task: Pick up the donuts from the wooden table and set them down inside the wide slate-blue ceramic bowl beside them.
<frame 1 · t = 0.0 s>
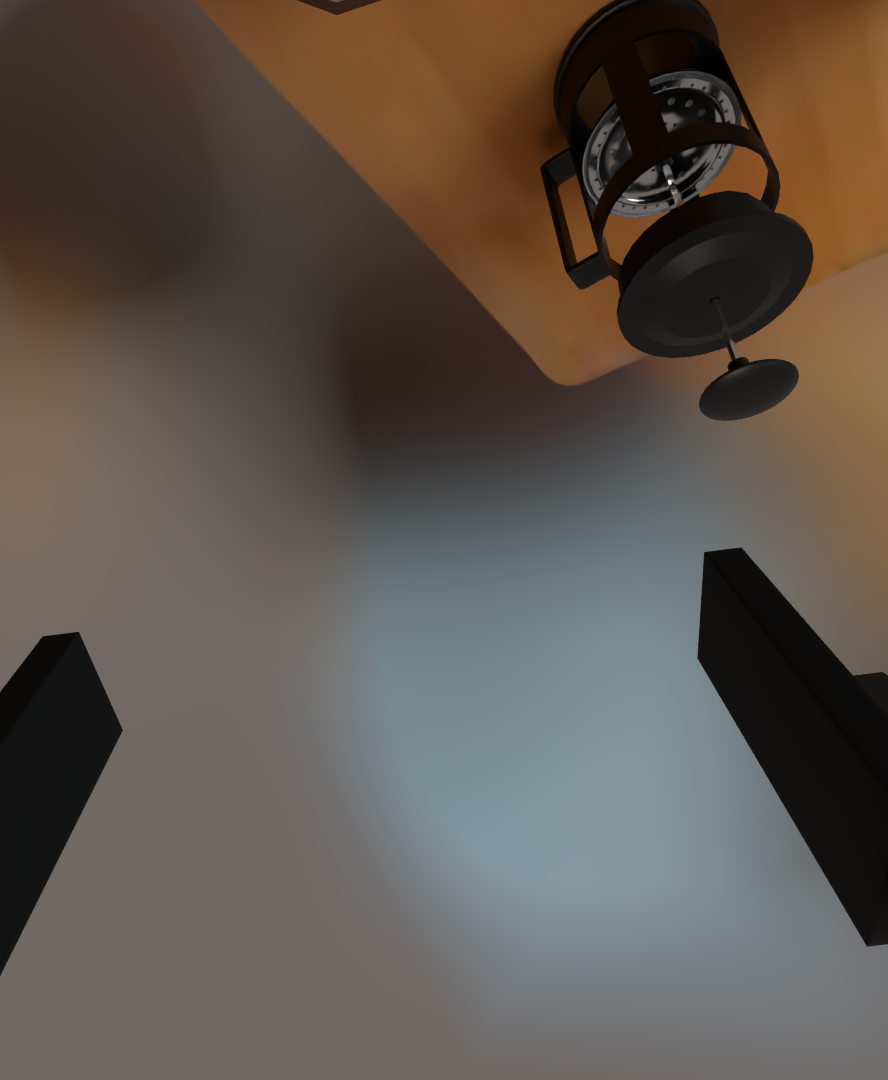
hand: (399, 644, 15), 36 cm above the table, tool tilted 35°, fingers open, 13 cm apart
french press: (624, 82, 41), on the table
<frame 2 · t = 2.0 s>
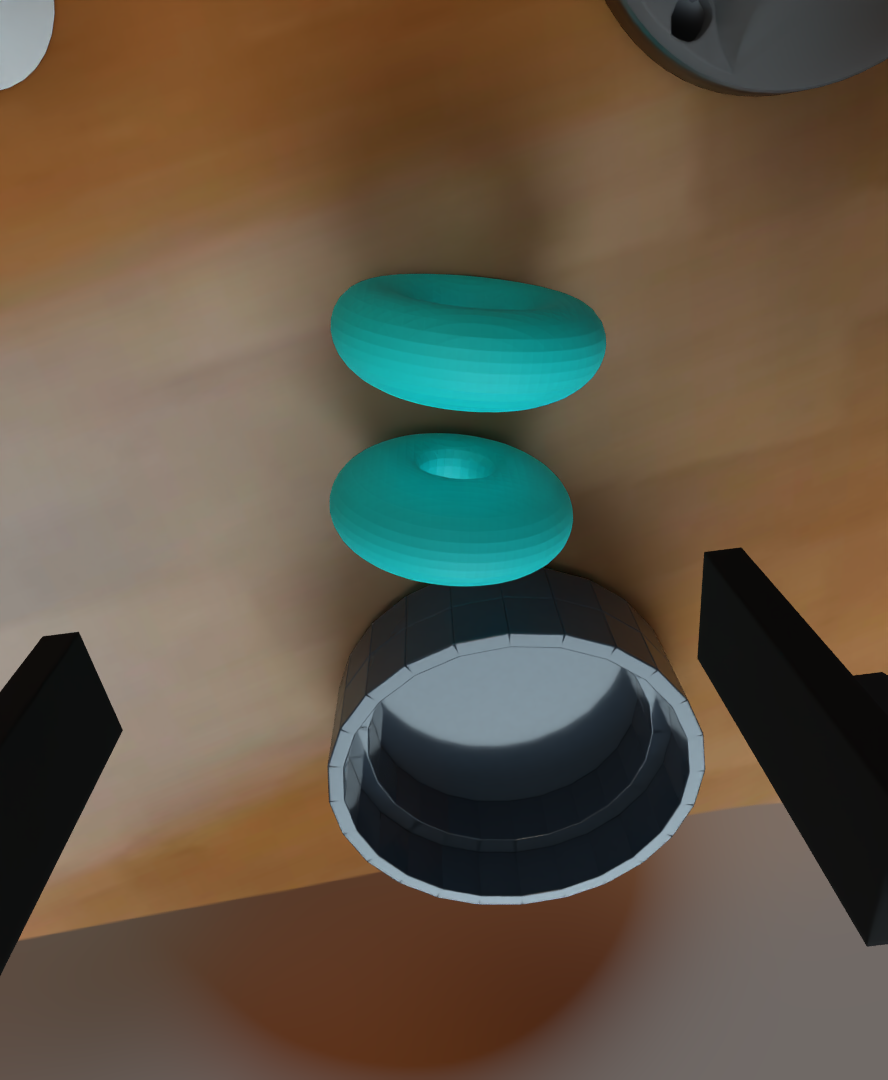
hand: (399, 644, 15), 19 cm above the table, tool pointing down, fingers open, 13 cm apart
donuts: (453, 386, 32), on the table
bowl: (502, 698, 41), on the table
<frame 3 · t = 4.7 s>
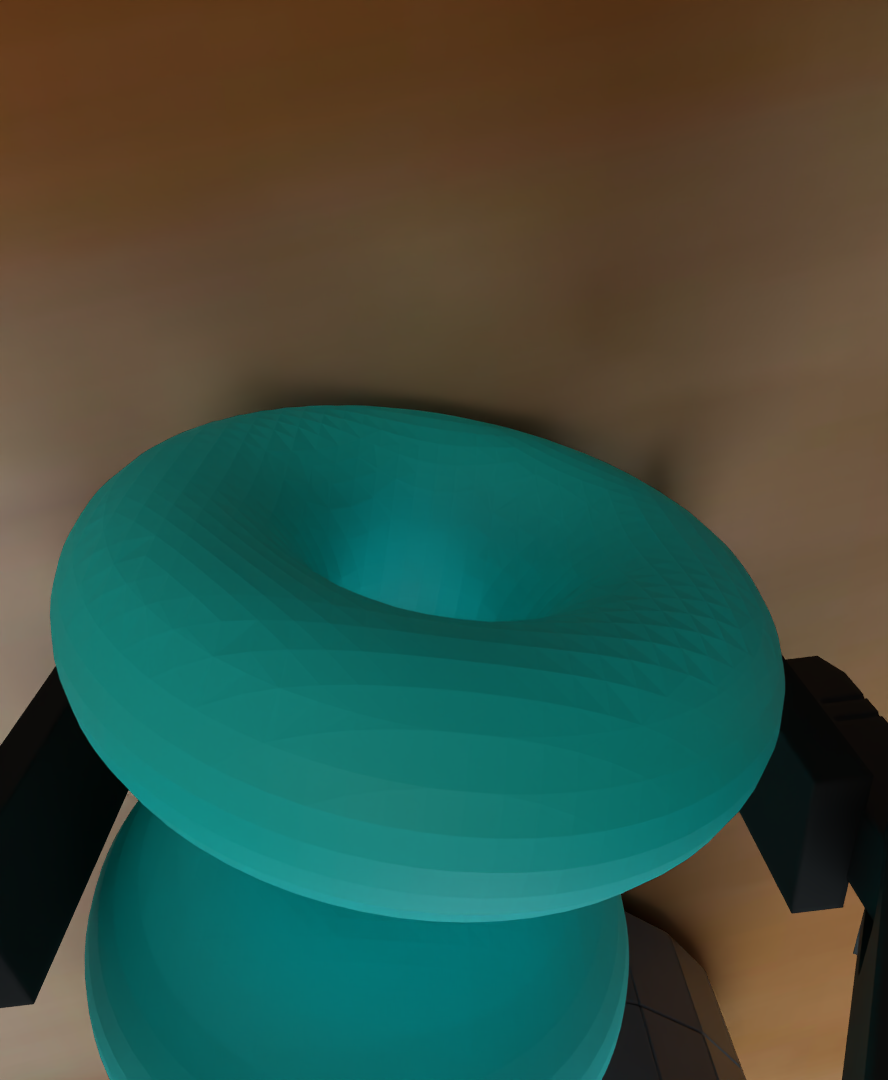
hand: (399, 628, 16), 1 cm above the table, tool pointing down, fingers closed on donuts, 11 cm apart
donuts: (399, 595, 17), on the table, touching gripper
bowl: (449, 1032, 25), on the table
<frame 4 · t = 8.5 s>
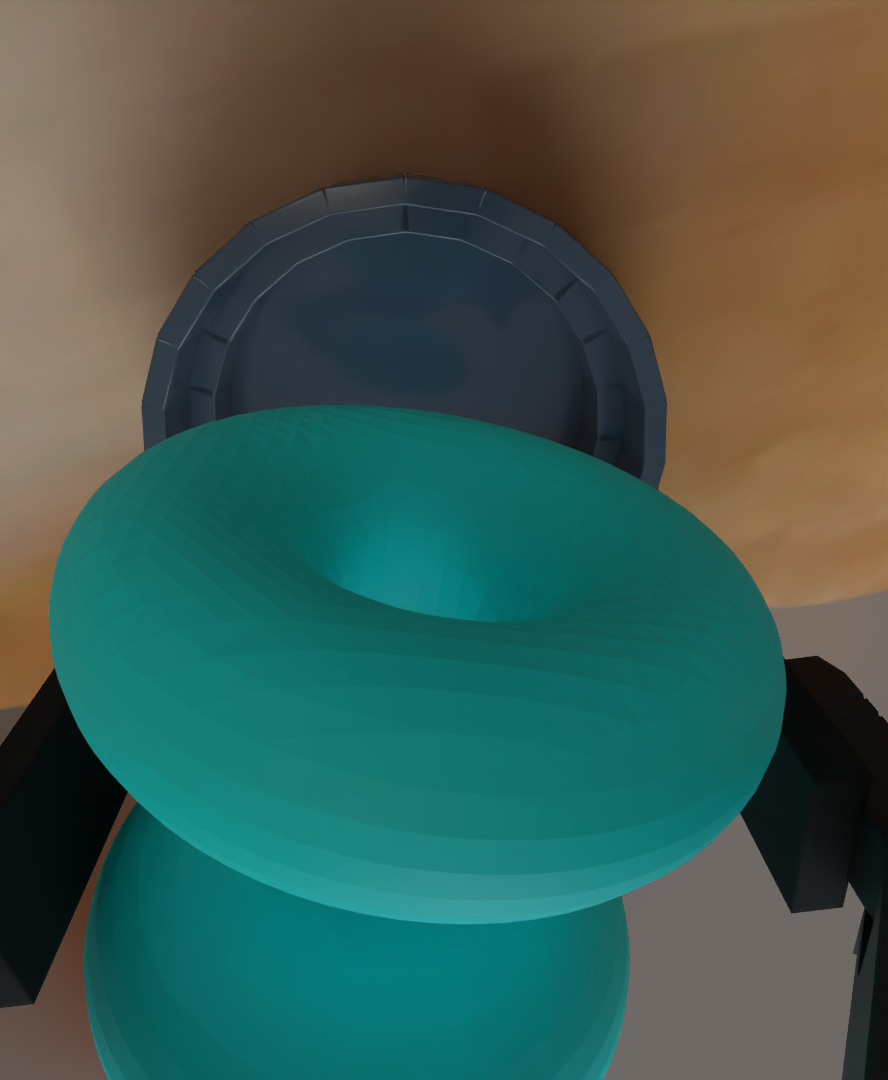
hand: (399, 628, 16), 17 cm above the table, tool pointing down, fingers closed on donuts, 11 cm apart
donuts: (399, 595, 17), point 16 cm above the table, touching gripper
bowl: (409, 411, 31), on the table
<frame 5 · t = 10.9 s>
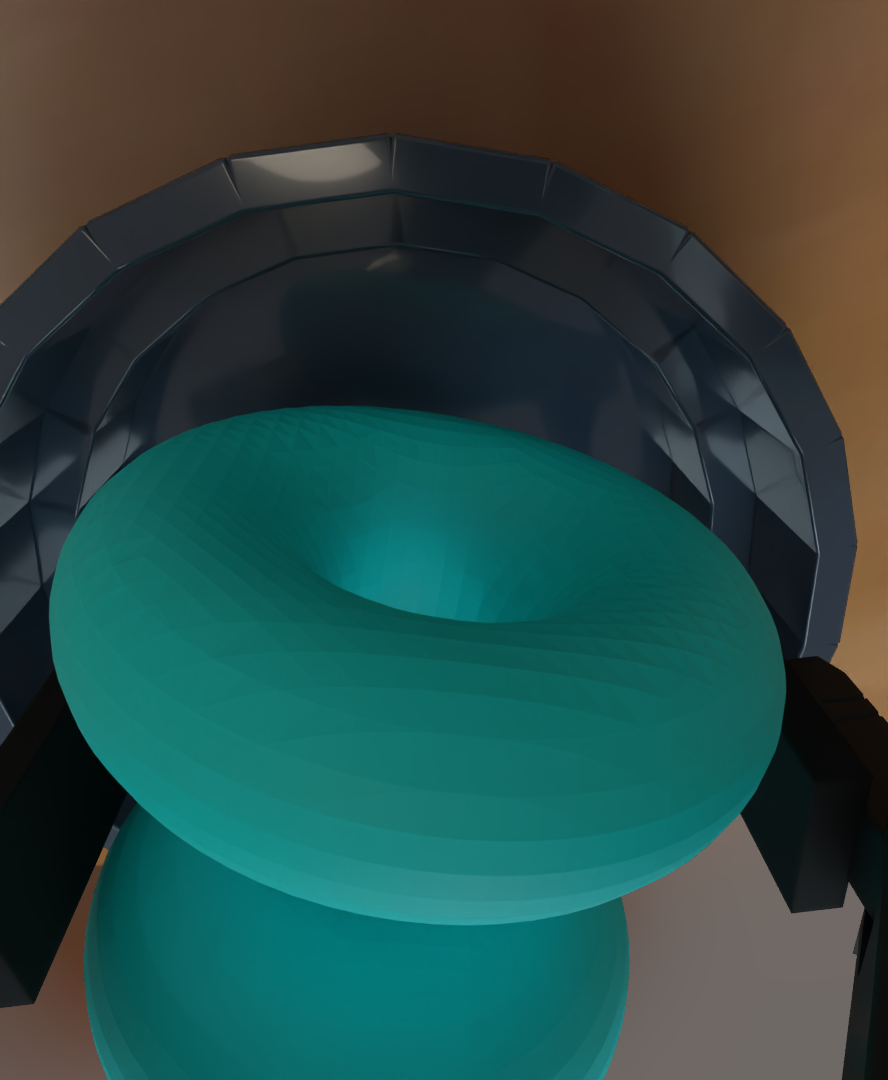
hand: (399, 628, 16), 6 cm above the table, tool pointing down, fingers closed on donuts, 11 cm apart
donuts: (399, 595, 17), point 4 cm above the table, touching gripper
bowl: (403, 514, 20), on the table
when the fingers open (2 cm above the table, at t = 12.7 s): donuts stays where it is, resting on bowl.
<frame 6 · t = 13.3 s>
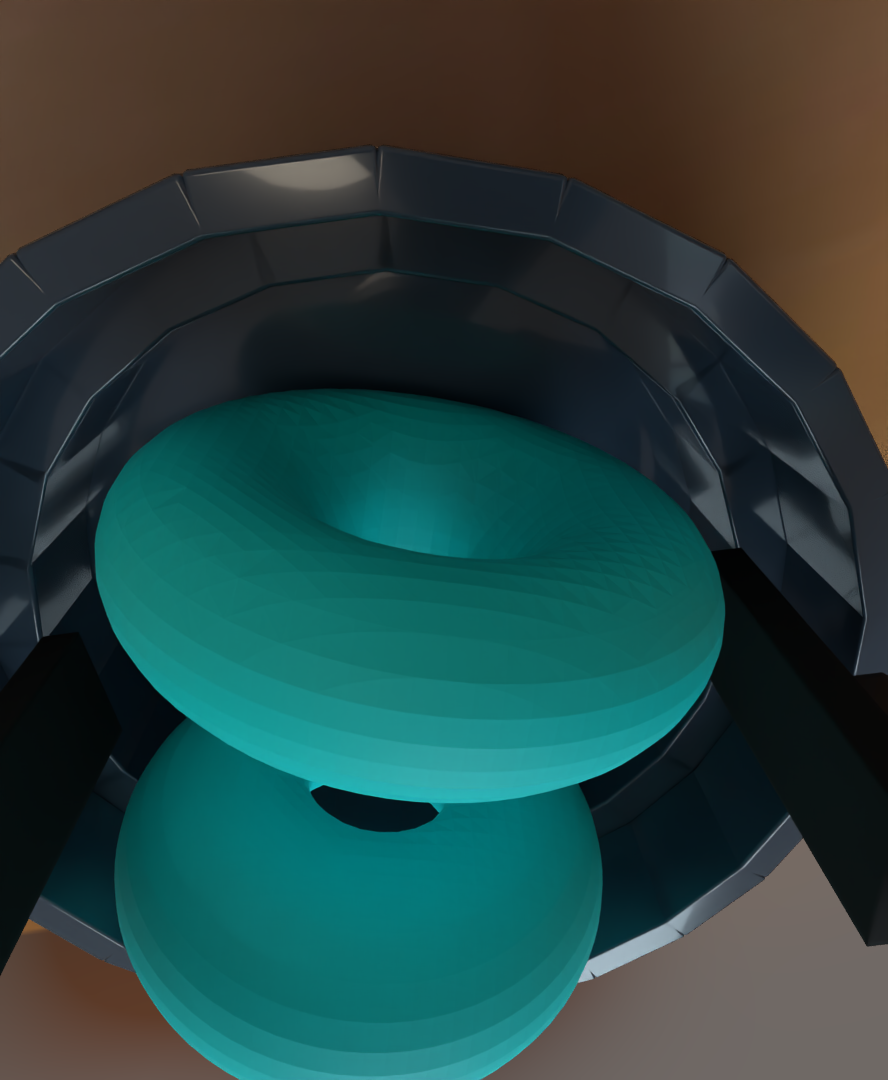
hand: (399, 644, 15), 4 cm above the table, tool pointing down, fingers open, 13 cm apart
donuts: (395, 567, 18), point 1 cm above the table, touching bowl
bowl: (396, 556, 19), on the table
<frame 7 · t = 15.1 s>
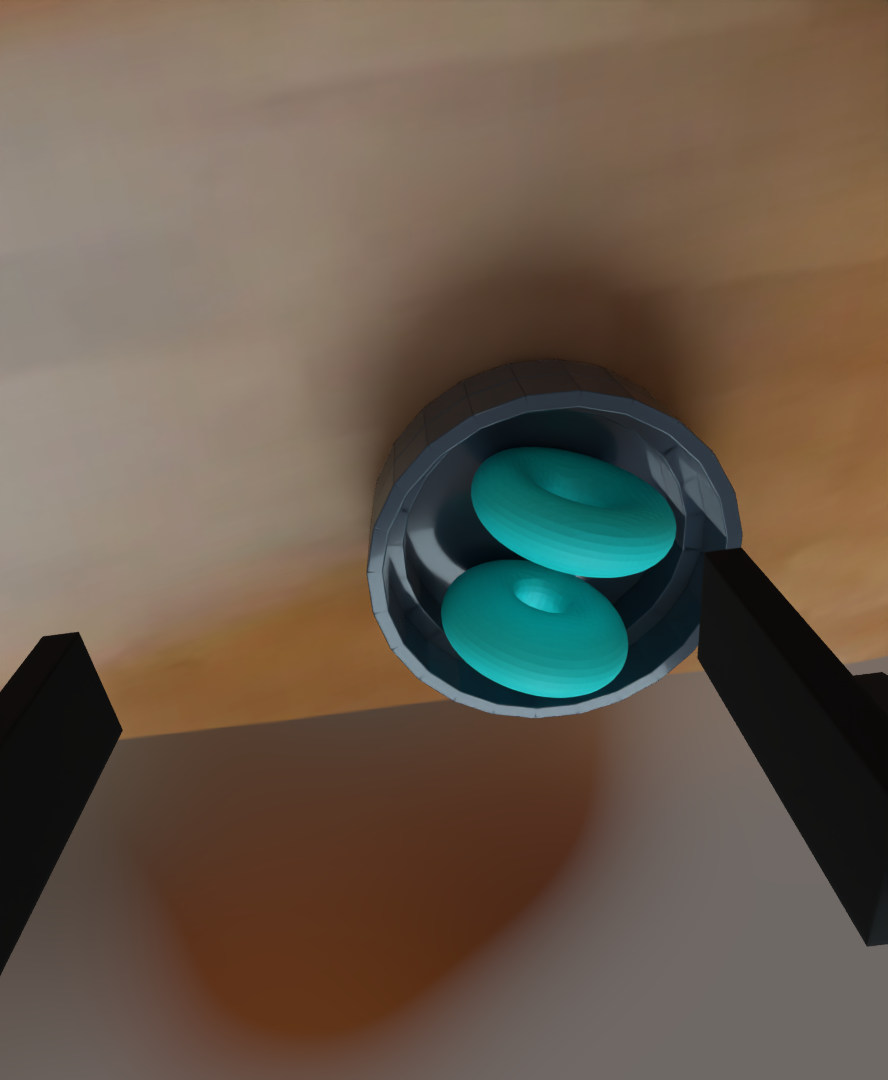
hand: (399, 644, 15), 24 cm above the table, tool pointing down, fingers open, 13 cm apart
donuts: (535, 522, 40), point 1 cm above the table, touching bowl
bowl: (533, 517, 41), on the table
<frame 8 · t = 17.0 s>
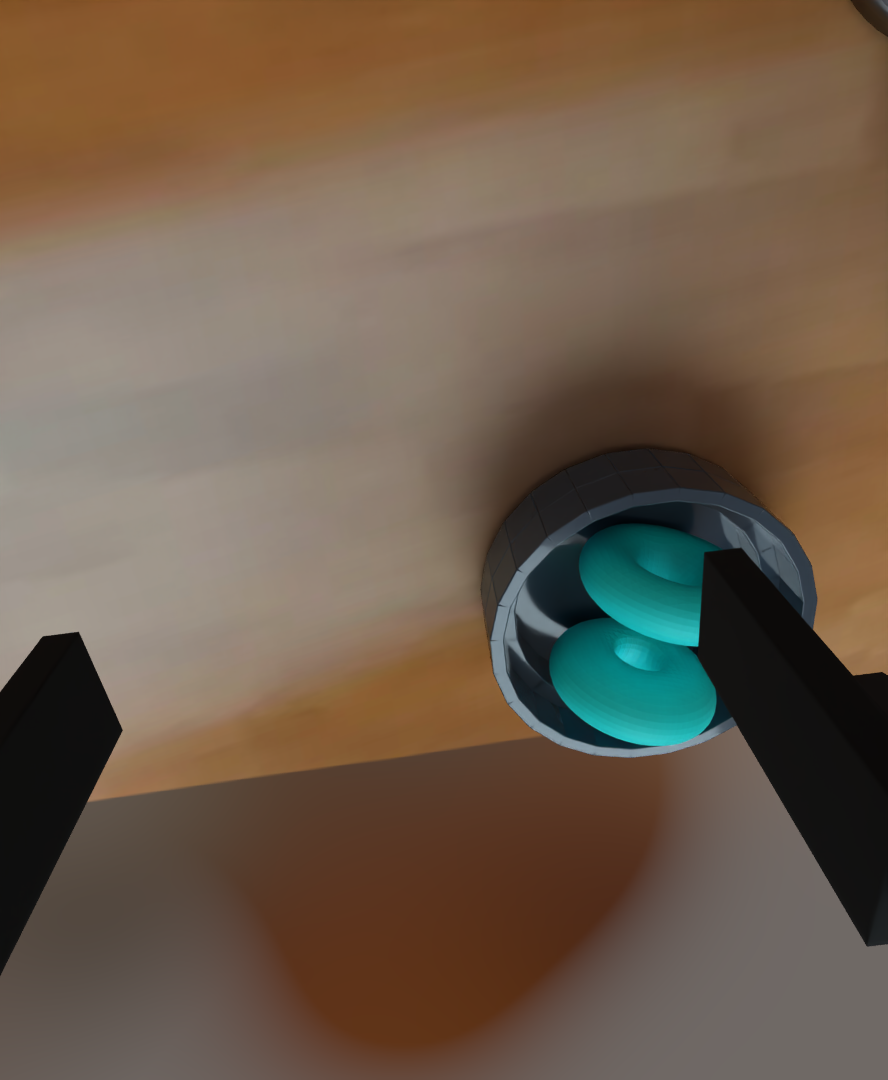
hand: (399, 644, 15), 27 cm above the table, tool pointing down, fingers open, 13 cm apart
donuts: (624, 583, 46), point 1 cm above the table, touching bowl
bowl: (622, 578, 46), on the table
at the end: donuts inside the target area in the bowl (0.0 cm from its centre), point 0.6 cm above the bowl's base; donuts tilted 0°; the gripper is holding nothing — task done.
